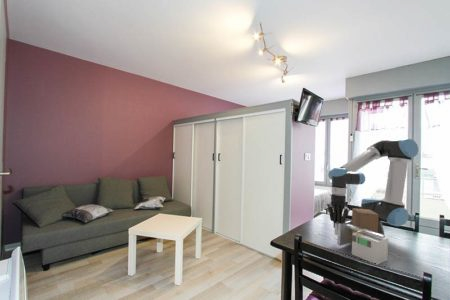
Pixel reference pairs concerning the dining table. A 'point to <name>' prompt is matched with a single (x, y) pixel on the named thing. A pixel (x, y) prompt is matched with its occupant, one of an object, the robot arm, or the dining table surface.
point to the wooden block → (365, 219)
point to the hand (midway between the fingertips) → (337, 234)
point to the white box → (370, 247)
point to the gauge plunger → (346, 232)
